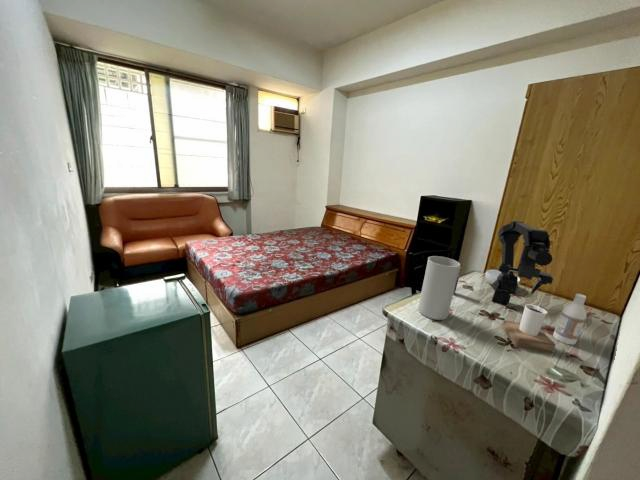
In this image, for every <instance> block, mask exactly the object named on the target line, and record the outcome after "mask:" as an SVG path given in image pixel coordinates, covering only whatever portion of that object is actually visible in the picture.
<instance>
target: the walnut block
mask: <svg viewBox="0 0 640 480" xmlns="http://www.w3.org/2000/svg"><path fill="white" fill-rule="evenodd" d="M520 323H521V322H518V321H517V322H516V321H509V320H503V323H502V326H501V330H502V331H503V332H504V333H505V335H506V336H507V338H508V339H509V340H510V341H511V342H512V344H513V345H514V346H515V348H520V349H525V350H530V351H536V352H542V353H549V354H553V353H554V349H555V346H556V343H555V342H554V341H553V340H552V339H551V338H550V337H549V336H548V335H546V333H545V332H544V331H542V330H541V329H540V330H539V333H538V335H537V336H531V335H528V334H525V333H523V332H522V331H521V330H520V329H519V327H520Z"/></svg>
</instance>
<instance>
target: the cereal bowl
mask: <svg viewBox="0 0 640 480" xmlns="http://www.w3.org/2000/svg"><path fill="white" fill-rule="evenodd" d="M498 270H499V269H487V270H486V271H485V280H486V281H487V282H488V283H489V284H491V285H492V284H493V283H494V282H495V281H496V280H497V277H498V276H499V275H500V273H501V272H500V271H498ZM514 275H515V274H514ZM515 276H517V275H515ZM517 277H518V281H517V282H518V286H519V284H520V282H521V277H519V276H517Z"/></svg>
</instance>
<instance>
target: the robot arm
mask: <svg viewBox="0 0 640 480" xmlns="http://www.w3.org/2000/svg"><path fill="white" fill-rule="evenodd" d="M497 234H498V241H499V242H500V243H501V245H502V249H501V250H502V253H501V262H500V263H499V267H498V269H497V270H498V271H500V272H501V273H500V275H499V276H498V277H497V280H496V281H495V282H494V283H493V284H491V287H492V289H493V291H494V292H493V296H492V299H491V302H493V303H496V304H499V305H503V306H508V304H510V301H511V297H512V295H515V293H516V292H517V290H518V288H519V285H518V282H517V281H518V277H519V278H520V279H521V278H524V279H527V280H528V281H529V280H532V279H533V278H536V281H535V283H534V284H533V287H532V290H531V295H533V294H534V293H535V292H536V291H537V290H538V289H539V287H541V286H542V285H548V284H549V285H552V283H553V281H554V277H553V275H552V274H551V273H548V272H545V271H544V272H543V271H541V270H542V269H540V268H536V266H537V265H538V266H541V267H544V266H548V265H549V264H551V263H552V262H553V255H552V254H551V253H550V249H551V240H550V235H549V232H548V231H547V230H545V229H539V228H534V227H531V226H530V225H528V224H526V223H525V222H523V221H516V220H513V221H510V223H508V224H505V225H502V226H501V228H500V229H499V230H498V233H497ZM521 236H522V239H523V240H524V242H523V243H522V245H524V246H523V249H522V251H521V255H520V259H519V262H518V265H517V268H516V267H514V259H515V257H514V256H515V244H516V243H517V242H518V241H519V238H520V237H521ZM514 273H515V274H517V275H516V276H515V274H514ZM511 294H512V295H511Z"/></svg>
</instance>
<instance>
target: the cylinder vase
mask: <svg viewBox="0 0 640 480" xmlns="http://www.w3.org/2000/svg"><path fill="white" fill-rule="evenodd" d="M460 267H461V263H460V262H459V261H457V260H455V259H453V258H449V257H445V256H438V255H432V256H428V257H427V264H426V268H425V272H424V273H425V274H424V277H423V278H424V279H423V283H422V287H421V293H420V297H419V303H418V308H417V309H418V311H419V312H420V313H421V314H422V315H423V316H425V317H426V318H428V319H432V320H435V321H436V320H437V321H443V320H446V319H448V316H449V313H450V309H451V305H452V301H453V296H454V295H453V293H454V288H455V284H456V280H457V276H458V272H459V268H460Z"/></svg>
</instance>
